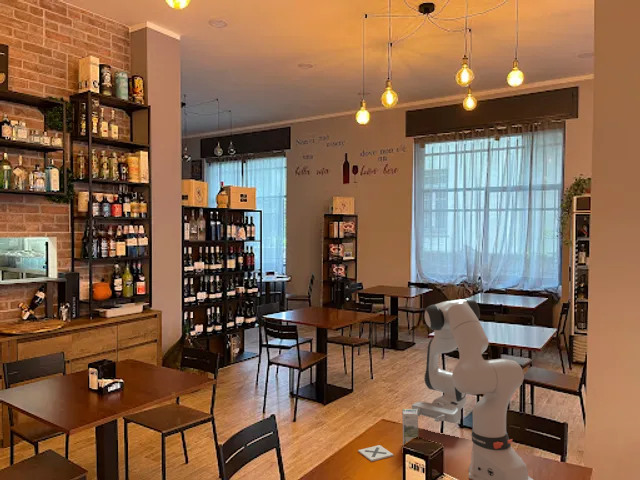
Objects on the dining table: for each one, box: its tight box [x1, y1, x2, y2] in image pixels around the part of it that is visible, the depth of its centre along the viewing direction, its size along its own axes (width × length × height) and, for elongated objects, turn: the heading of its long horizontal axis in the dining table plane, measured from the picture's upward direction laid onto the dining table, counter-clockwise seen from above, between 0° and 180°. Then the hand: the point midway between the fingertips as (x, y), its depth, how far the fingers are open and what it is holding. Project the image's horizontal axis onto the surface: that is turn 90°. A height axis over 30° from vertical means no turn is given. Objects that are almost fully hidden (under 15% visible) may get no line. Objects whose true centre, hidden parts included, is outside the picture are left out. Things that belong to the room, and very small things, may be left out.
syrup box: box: [401, 408, 419, 445], centre depth 193 cm, size 6×6×14 cm
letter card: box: [357, 444, 395, 463], centre depth 189 cm, size 10×10×1 cm
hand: (425, 417), depth 202 cm, fingers open, 8 cm apart
